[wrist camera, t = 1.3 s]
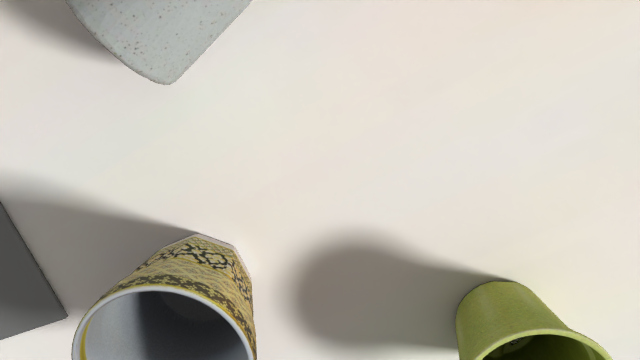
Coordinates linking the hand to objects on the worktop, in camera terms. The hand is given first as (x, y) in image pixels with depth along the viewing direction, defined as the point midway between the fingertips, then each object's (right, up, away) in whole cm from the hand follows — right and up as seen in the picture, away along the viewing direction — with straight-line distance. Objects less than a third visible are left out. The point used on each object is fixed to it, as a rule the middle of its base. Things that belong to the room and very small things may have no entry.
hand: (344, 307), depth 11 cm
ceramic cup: (-10, -5, +31) cm, 33 cm away
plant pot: (+12, -7, +31) cm, 34 cm away
